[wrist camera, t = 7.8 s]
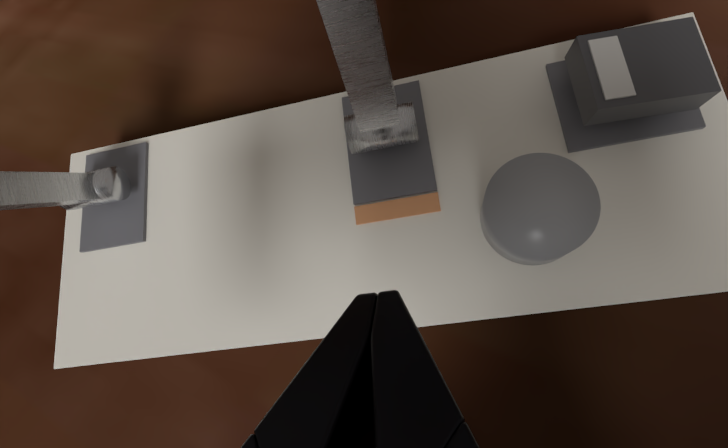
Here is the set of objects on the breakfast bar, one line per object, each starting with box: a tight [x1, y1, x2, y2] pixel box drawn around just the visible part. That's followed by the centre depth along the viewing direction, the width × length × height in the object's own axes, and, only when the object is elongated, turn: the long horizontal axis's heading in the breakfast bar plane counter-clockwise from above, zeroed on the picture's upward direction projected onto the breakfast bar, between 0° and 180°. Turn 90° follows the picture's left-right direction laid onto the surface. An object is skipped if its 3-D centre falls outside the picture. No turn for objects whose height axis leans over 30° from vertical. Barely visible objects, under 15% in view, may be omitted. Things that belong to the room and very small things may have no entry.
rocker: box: [564, 17, 722, 126], centre depth 14 cm, size 3×4×1 cm
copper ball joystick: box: [317, 0, 419, 154], centre depth 12 cm, size 3×3×12 cm
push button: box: [480, 153, 601, 265], centre depth 14 cm, size 4×4×2 cm
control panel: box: [54, 12, 728, 369], centre depth 19 cm, size 11×30×3 cm, turn 97°
